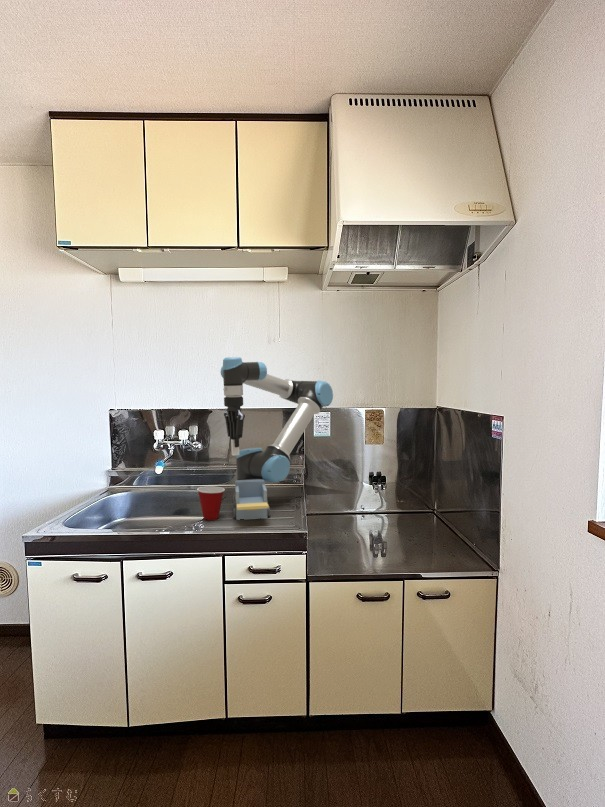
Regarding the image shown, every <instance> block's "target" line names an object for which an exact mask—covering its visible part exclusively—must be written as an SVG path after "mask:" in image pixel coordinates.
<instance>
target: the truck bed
mask: <svg viewBox="0 0 605 807" xmlns="http://www.w3.org/2000/svg"><path fill="white" fill-rule="evenodd" d="M234 484H235V486H234V492H236V502H235V501H232V513H233V515H232V516H233V517H232V518H233V519H236V520H237V521H240V519H244V520H256V519H257V520H258V519H260V518H261V519H268V517H271V507H270V505H269V500H268V489H267V486H266V482H265V480H264V479H253V480H237V479H236V480H234ZM264 502H267V504H268V505H269V508H264V509H258V510H247V509H246V510H237V504H245V503H264ZM261 519H260V520H261Z"/></svg>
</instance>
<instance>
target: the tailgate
mask: <svg viewBox="0 0 605 807" xmlns="http://www.w3.org/2000/svg"><path fill="white" fill-rule="evenodd" d="M269 506H270V505H269V503H268V504H267V502H264V503H245V504H237V510H246V509H247V510H258V509H264V508H269Z"/></svg>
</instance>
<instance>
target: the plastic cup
mask: <svg viewBox="0 0 605 807" xmlns="http://www.w3.org/2000/svg"><path fill="white" fill-rule="evenodd" d="M196 490H197V493H198V497H199V501H200V502H199V503H200V508H201V513H202V517H203V519H204V520H205V521H216V520H218V519H219V518H218V517H220V511H221V506H222V498H223V495H224V492H225V491H226V489H225V487H222V486H221V487H220V486H212V485H211V486H210V485H209V486H205V485H204V486H200V487H198V488H197V489H196ZM217 518H218V519H217ZM206 519H207V520H206ZM215 519H216V520H215Z"/></svg>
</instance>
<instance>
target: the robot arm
mask: <svg viewBox="0 0 605 807" xmlns="http://www.w3.org/2000/svg"><path fill="white" fill-rule="evenodd" d="M220 376H221V377H222V379H223V395H224V397H223V402H224V403H223V406H224V407H226V408H227V409H226V412H224V413H223V416H224V420H225V426H226V431H227V432H226V433H227V437H229V439H230V444H231V456H232V457H233V456H234V457H236V458H235V461H236V480H253V479H264V480H265V481H266V482H268V483H280V482H282V481H284V480H285V479H286V478H287V477H288V475H289V473H290V471H291V470H290V469H291V468H290V467H291V463H290V461H291V457H290V455H291V453H292V451H293V449H294V448H295V446H296V445H297V443H298V442H299V440H300V438H301V437H302V435H303V433H304V432H305V430H306V429H307V427H308V425H309V423H311V420H313V417H314V416H315V415H317V414H320V412H321V410H322V409H323V407H325V408H327V407H328V406H330V405H331V404H332V402H333V399H334V393H333V388H332V386H331V384H330V383H329V382H327V381H323V380H315V381H314V380H292V379H290V378H285V379H283V378H280V377H277V376H273V375H271V374H268V367H267V365H266V364H265V363H264V362H262V361H261V362H260V361H248V362H247V361H246V362H243V359H242V357H237V356H234V357H233V356H232V357H224V358H223V359H222V366H221V369H220ZM244 385H246V386H249V387H253V388H256V389H259V390H261V391H265V392H269V393H271V394H274V395H277V396H279V398H281V399H283V400H286V401H289V402H291V403H293V404H297V407H295V410H294V411H293V412H292V414H291V415H290V417H289V418H288V420H287V422H286V423H285V424H284V426H283V428H282V430H281V431H280V433H279V434H278V436H277V437H276V438H275V440H274V442H273V444H269V445H267V446H266V448H265V449H263V447H249V448H243V449H242V448H241V449H240V439H241V438H243V431H244V421H245V419H246V418H245V417H246V416H245V414H242V409H241V407H242V406H244V397H243V395H244ZM232 498H233V499H232V500H233V502H236V492H235V491H234V493H233V496H232Z"/></svg>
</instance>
